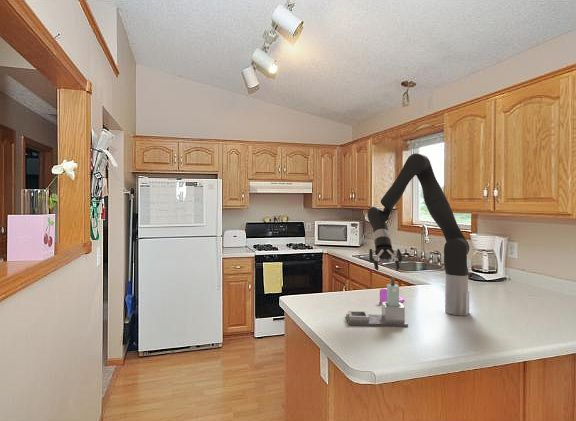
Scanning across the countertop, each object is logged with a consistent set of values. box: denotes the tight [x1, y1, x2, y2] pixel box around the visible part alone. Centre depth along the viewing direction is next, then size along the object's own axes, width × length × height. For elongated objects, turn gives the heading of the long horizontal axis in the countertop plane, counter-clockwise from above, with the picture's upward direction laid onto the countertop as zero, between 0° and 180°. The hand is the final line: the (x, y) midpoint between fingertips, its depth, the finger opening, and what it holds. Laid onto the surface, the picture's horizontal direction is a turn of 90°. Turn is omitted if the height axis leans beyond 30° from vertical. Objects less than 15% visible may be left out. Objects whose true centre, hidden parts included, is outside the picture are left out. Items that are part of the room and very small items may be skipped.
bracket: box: [379, 287, 405, 304], centre depth 178 cm, size 13×6×7 cm, turn 121°
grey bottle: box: [386, 277, 400, 307], centre depth 148 cm, size 4×5×13 cm
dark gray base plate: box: [345, 302, 409, 328], centre depth 149 cm, size 23×12×7 cm, turn 86°
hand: (387, 269), depth 159 cm, fingers open, 8 cm apart
